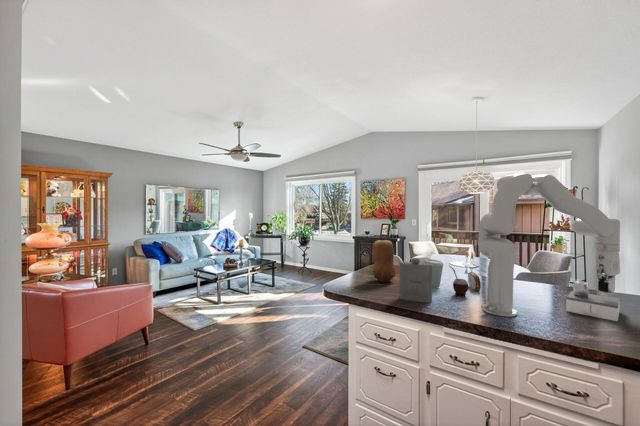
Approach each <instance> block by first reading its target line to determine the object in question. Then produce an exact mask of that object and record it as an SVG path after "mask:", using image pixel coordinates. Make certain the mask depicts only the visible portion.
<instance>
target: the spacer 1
mask: <svg viewBox="0 0 640 426" xmlns="http://www.w3.org/2000/svg"><path fill="white" fill-rule="evenodd" d="M589 289H590V288H589V283H588V282H586V281H581V280H580V281H579V280H574V281H573V290H572V291H573V295H574V296H578V297H584V298H587V297H588V294H589Z"/></svg>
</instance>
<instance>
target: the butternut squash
mask: <svg viewBox="0 0 640 426" xmlns="http://www.w3.org/2000/svg"><path fill="white" fill-rule="evenodd" d="M394 256H395V249H394V244H393V243H392V241H391V240H388V239H385V240H380V239H378V240H375V241H374V243H373V258H374V264H373V266H372V275H373V276H374V278H375V279H376V280H377V281H379V282H382V283H389V282H391V281H392V280H393V279H394V278H395V277H396V275H397V269H396V266H395V263H394V258H395V257H394Z"/></svg>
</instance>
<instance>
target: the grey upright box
mask: <svg viewBox="0 0 640 426" xmlns="http://www.w3.org/2000/svg"><path fill="white" fill-rule="evenodd" d="M398 281H399V283H398V284H399V285H398V286H399V289H398V290H399V293H398V296H399V297H398V298H399V299H400V300H402V301H406V302H407V301H408V302H416V303H417V302H418V303H431V302H433V300H432V299H433V288H432V265H431V264H426V263H424V262H423V263H421V262H420V258H418V257H416V258H415V257H412V259H411V261H410V262H408V261H401V262H399V279H398Z"/></svg>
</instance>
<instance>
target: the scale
mask: <svg viewBox="0 0 640 426" xmlns="http://www.w3.org/2000/svg"><path fill="white" fill-rule="evenodd" d="M620 299H621V298H617V297H610V296H604V295H600V294H599V295H597V294H592V293H588V297H587V298H584V297H578V296H574V295H573V290H571V291H570V292H569V294H568V295H567V296H566V301H565V303H566V304H565V305H566V306H565V312H569V313H573V314H574V313H575V314H579V315H583V316H589V317H594V318H598V319H599V318H600V319H604V320H609V321H614V322H618V321H619V316H620V304H621V302H620Z"/></svg>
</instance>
